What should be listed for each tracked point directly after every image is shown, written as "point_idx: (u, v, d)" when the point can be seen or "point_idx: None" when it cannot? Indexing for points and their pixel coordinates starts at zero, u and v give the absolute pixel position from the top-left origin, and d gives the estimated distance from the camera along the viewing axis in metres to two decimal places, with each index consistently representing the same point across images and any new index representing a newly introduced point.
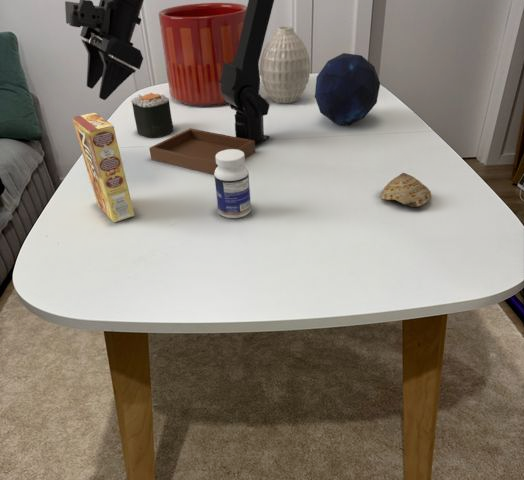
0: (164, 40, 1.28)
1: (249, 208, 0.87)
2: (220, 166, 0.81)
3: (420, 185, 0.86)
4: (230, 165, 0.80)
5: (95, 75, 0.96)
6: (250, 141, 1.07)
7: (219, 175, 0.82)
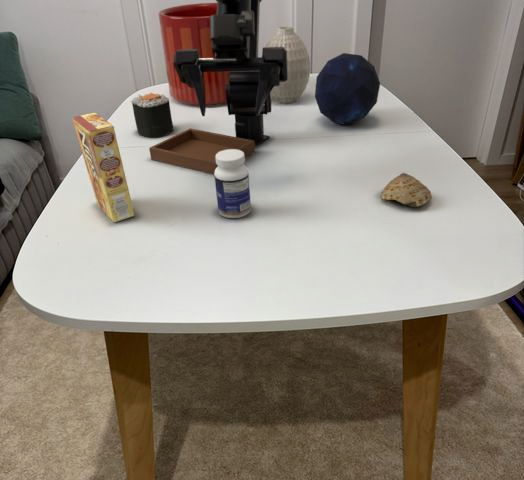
0: (164, 40, 1.28)
1: (249, 208, 0.87)
2: (220, 166, 0.81)
3: (420, 185, 0.86)
4: (230, 165, 0.80)
5: (204, 102, 0.86)
6: (250, 141, 1.07)
7: (219, 175, 0.82)
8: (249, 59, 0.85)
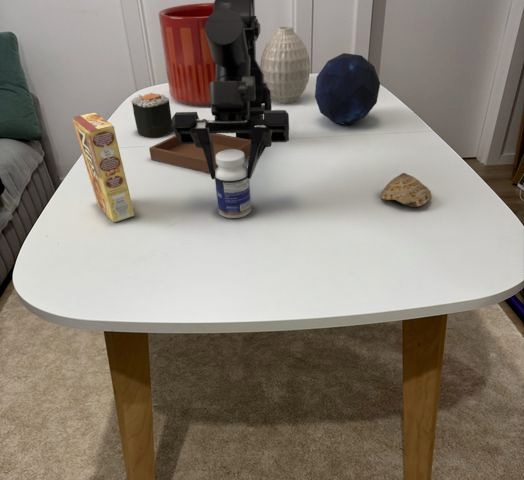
0: (164, 40, 1.28)
1: (249, 208, 0.87)
2: (220, 166, 0.81)
3: (420, 185, 0.86)
4: (230, 165, 0.80)
5: (213, 164, 0.83)
6: (250, 141, 1.07)
7: (219, 175, 0.82)
8: (250, 121, 0.82)
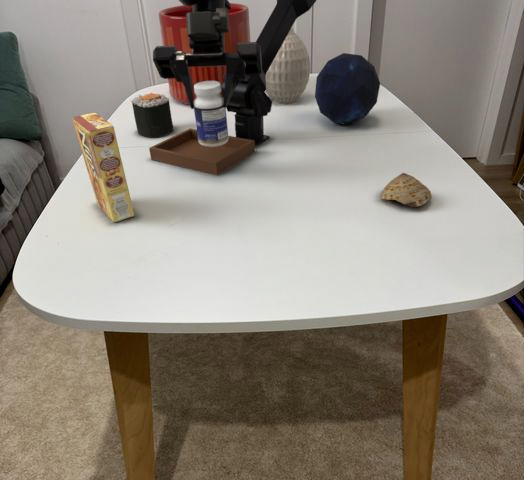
0: (164, 40, 1.28)
1: (227, 137, 0.94)
2: (198, 95, 0.88)
3: (420, 185, 0.86)
4: (207, 93, 0.87)
5: (192, 95, 0.90)
6: (250, 141, 1.07)
7: (197, 103, 0.89)
8: (225, 54, 0.89)
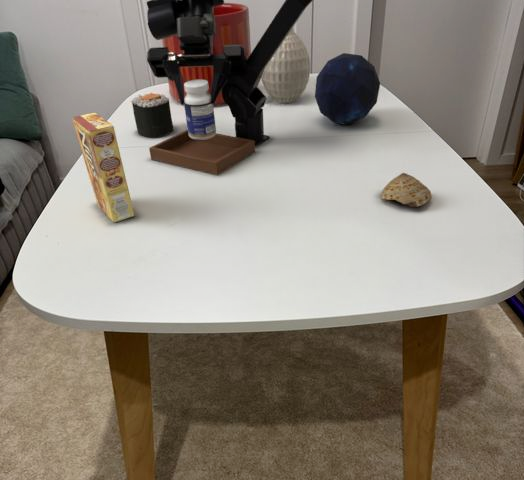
0: (164, 40, 1.28)
1: (214, 131, 1.03)
2: (188, 92, 0.97)
3: (420, 185, 0.86)
4: (195, 91, 0.96)
5: (183, 92, 0.99)
6: (250, 141, 1.07)
7: (187, 100, 0.98)
8: (213, 55, 0.98)
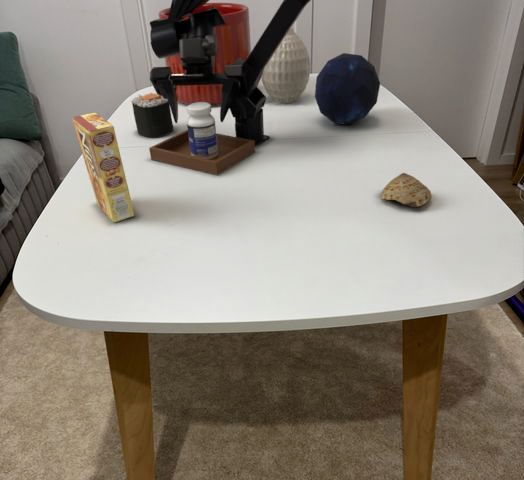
0: None
1: (216, 152, 1.05)
2: (191, 115, 1.00)
3: (420, 185, 0.86)
4: (198, 113, 0.99)
5: (176, 111, 1.02)
6: (250, 141, 1.07)
7: (190, 122, 1.00)
8: (214, 75, 1.01)
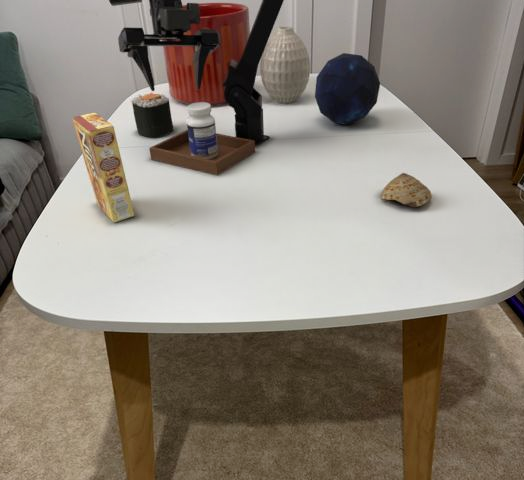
0: (164, 40, 1.28)
1: (216, 152, 1.05)
2: (191, 115, 1.00)
3: (420, 185, 0.86)
4: (198, 113, 0.99)
5: None
6: (250, 141, 1.07)
7: (190, 122, 1.00)
8: (185, 36, 0.98)
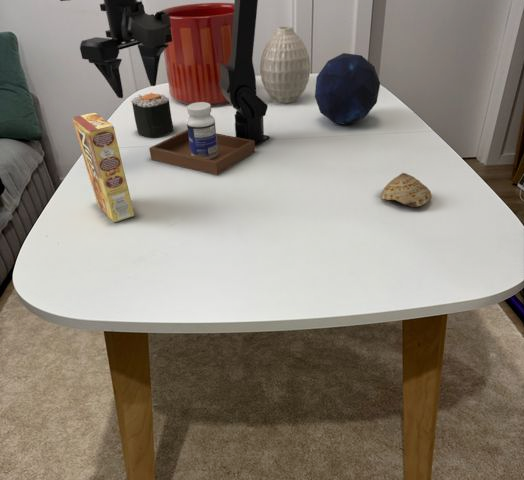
0: None
1: (216, 152, 1.05)
2: (191, 115, 1.00)
3: (420, 185, 0.86)
4: (198, 113, 0.99)
5: None
6: (250, 141, 1.07)
7: (190, 122, 1.00)
8: None
